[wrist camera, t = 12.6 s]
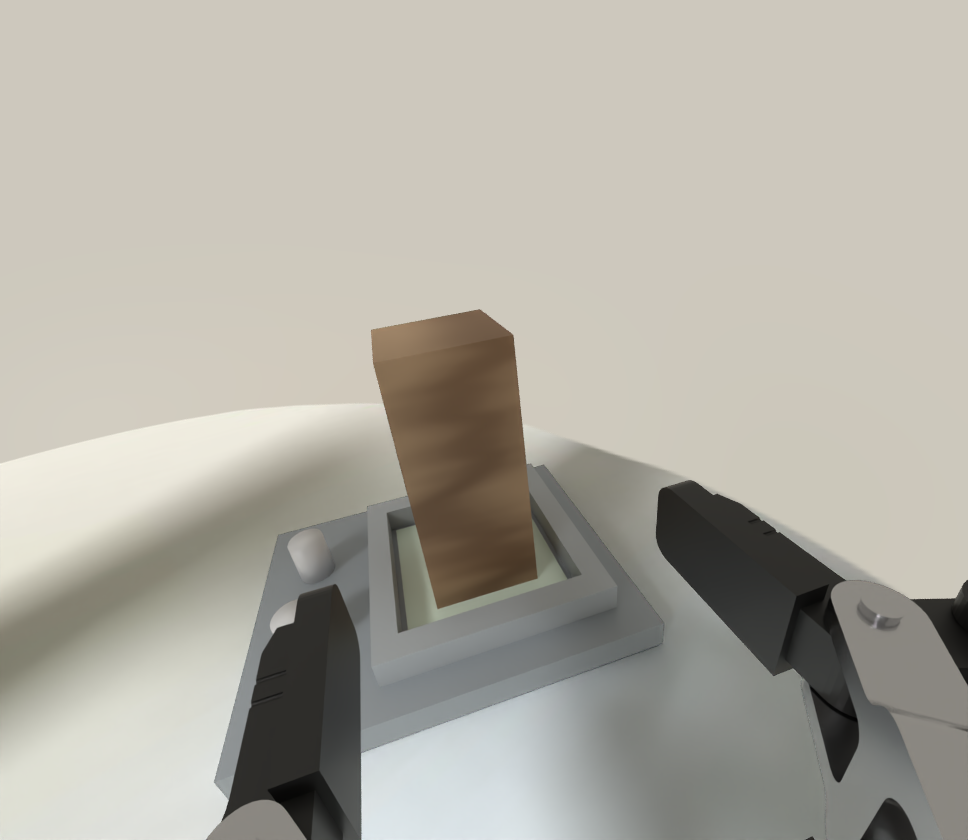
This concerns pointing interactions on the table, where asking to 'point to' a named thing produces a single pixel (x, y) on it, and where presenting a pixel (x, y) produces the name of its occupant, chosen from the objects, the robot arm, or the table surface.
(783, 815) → the table surface
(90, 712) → the table surface
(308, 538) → the housing
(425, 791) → the table surface
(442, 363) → the block
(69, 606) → the table surface
